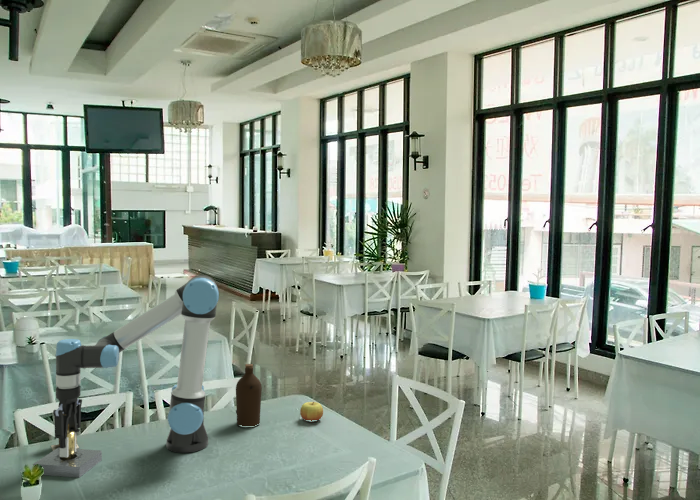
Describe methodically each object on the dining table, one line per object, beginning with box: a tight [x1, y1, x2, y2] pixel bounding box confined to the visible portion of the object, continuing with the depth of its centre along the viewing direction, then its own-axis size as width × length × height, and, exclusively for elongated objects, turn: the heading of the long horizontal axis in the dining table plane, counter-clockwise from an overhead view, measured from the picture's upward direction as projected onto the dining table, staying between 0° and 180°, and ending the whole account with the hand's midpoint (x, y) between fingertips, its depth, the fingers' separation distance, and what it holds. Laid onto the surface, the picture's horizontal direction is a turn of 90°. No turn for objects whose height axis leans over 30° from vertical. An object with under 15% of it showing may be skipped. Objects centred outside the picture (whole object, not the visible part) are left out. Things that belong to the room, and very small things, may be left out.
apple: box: [299, 401, 324, 421], centre depth 255 cm, size 10×10×8 cm
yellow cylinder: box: [61, 430, 74, 460], centre depth 203 cm, size 4×4×10 cm
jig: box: [32, 448, 103, 478], centre depth 203 cm, size 16×14×4 cm
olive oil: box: [235, 363, 263, 426], centre depth 248 cm, size 11×11×25 cm
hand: (68, 453), depth 203 cm, fingers closed on yellow cylinder, 4 cm apart
